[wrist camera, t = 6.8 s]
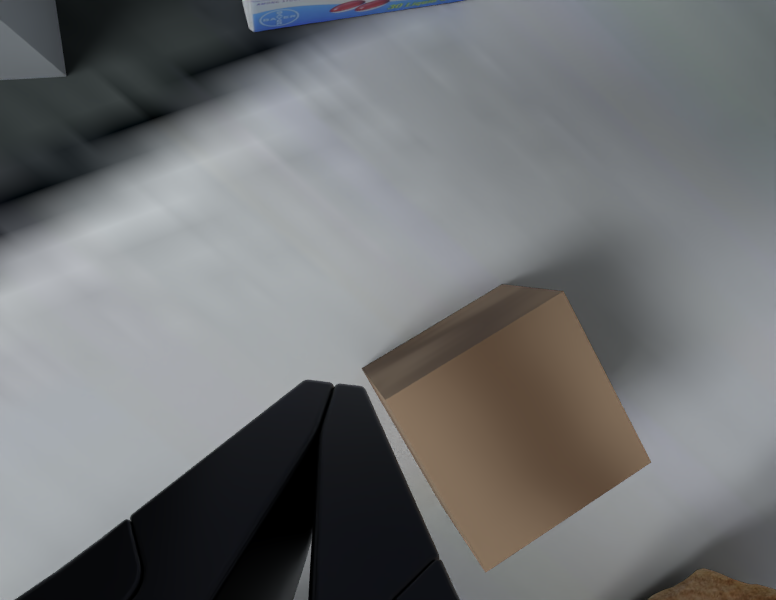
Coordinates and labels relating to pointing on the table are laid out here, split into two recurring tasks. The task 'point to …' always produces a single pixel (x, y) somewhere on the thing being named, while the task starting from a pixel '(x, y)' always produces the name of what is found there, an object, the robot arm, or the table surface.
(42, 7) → the slate-grey block
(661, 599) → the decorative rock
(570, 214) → the table surface
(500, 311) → the walnut block
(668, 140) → the table surface
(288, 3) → the medicine box
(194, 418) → the table surface
